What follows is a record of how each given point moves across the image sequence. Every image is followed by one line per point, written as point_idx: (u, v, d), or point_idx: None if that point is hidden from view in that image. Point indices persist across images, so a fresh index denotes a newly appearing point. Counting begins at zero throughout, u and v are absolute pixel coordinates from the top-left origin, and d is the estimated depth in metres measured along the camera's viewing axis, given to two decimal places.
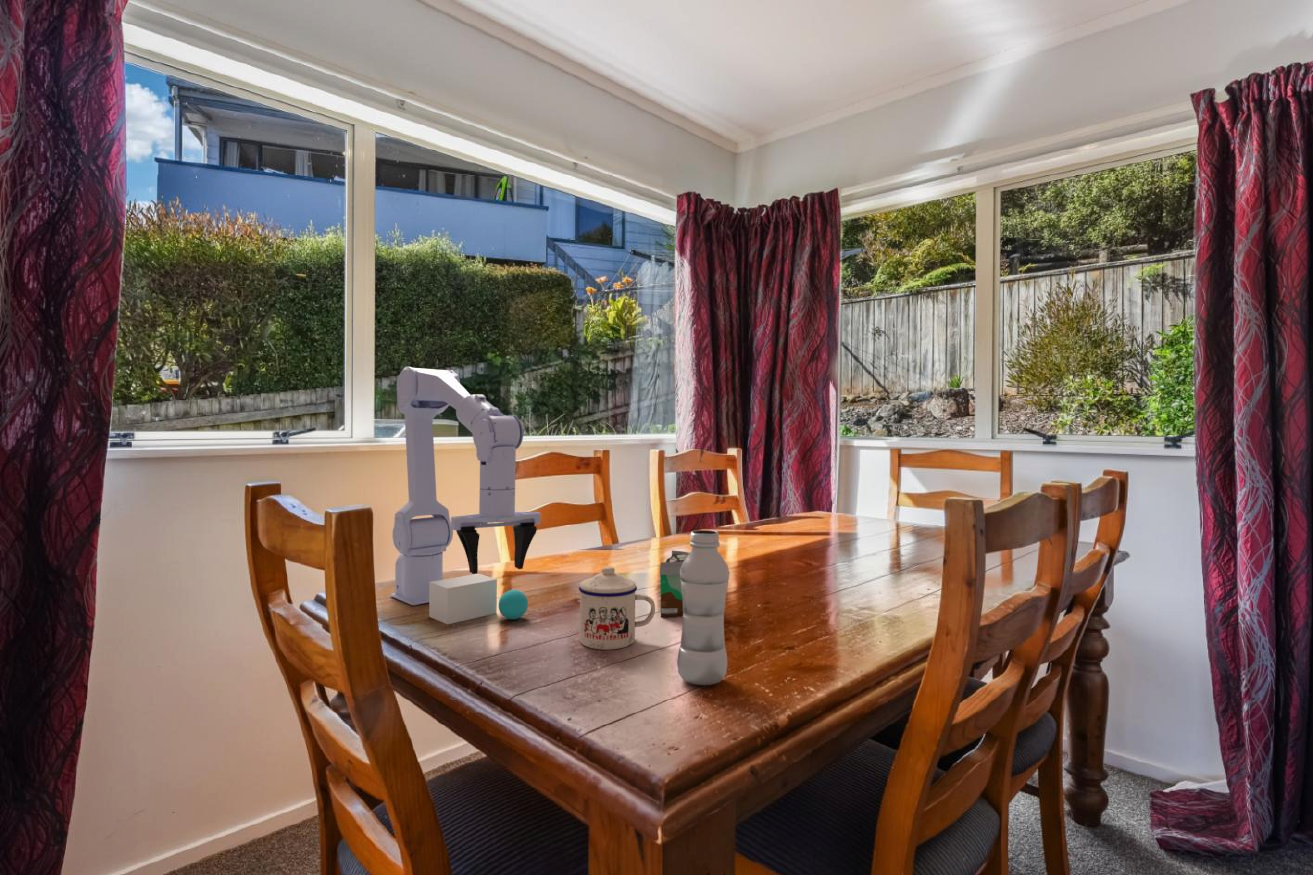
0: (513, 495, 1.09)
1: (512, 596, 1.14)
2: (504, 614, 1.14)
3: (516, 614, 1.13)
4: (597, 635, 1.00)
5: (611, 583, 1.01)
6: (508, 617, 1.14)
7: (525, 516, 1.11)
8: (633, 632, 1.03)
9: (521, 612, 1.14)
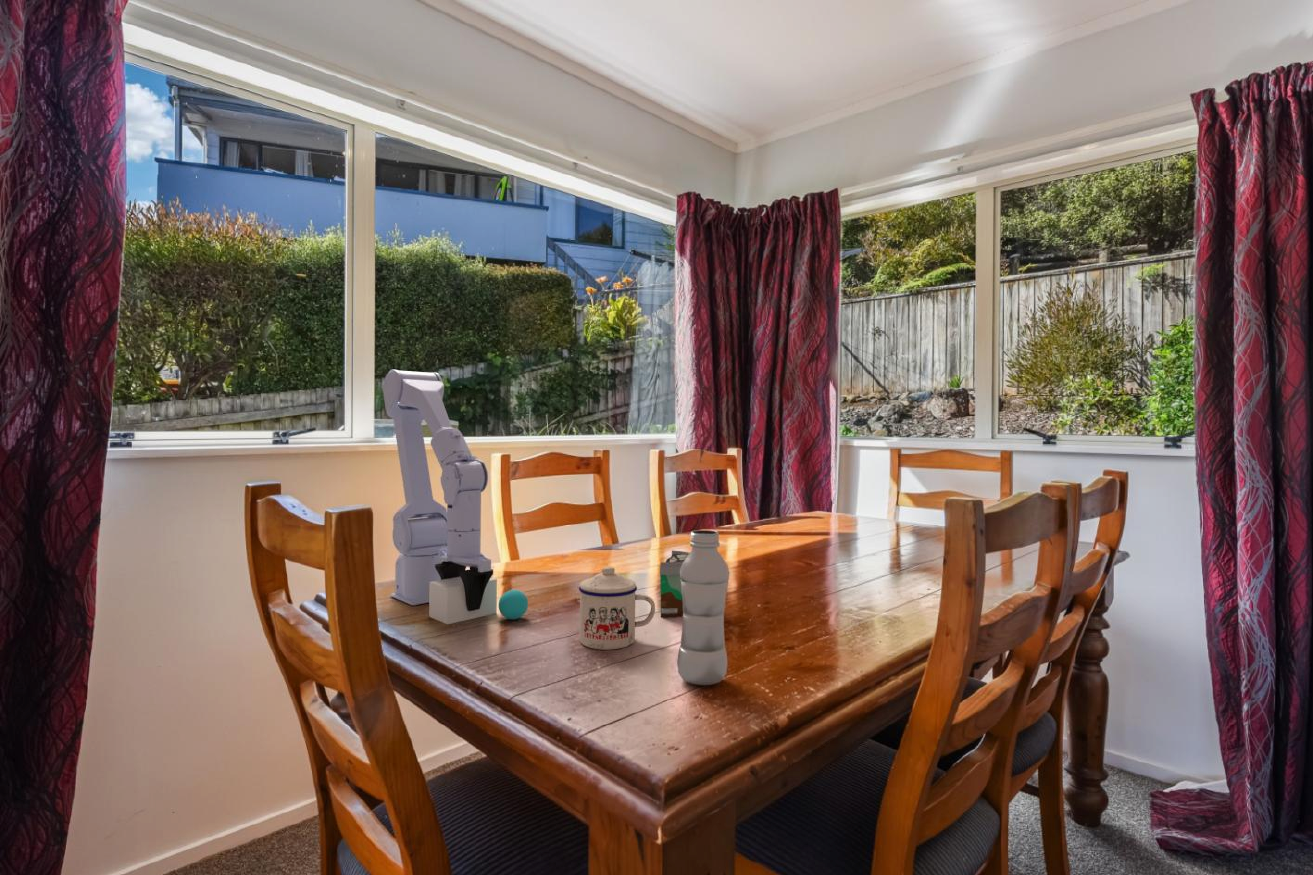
0: (460, 538, 1.14)
1: (512, 596, 1.14)
2: (504, 614, 1.14)
3: (516, 614, 1.13)
4: (597, 635, 1.00)
5: (611, 583, 1.01)
6: (508, 617, 1.14)
7: (467, 560, 1.13)
8: (633, 632, 1.03)
9: (521, 612, 1.14)
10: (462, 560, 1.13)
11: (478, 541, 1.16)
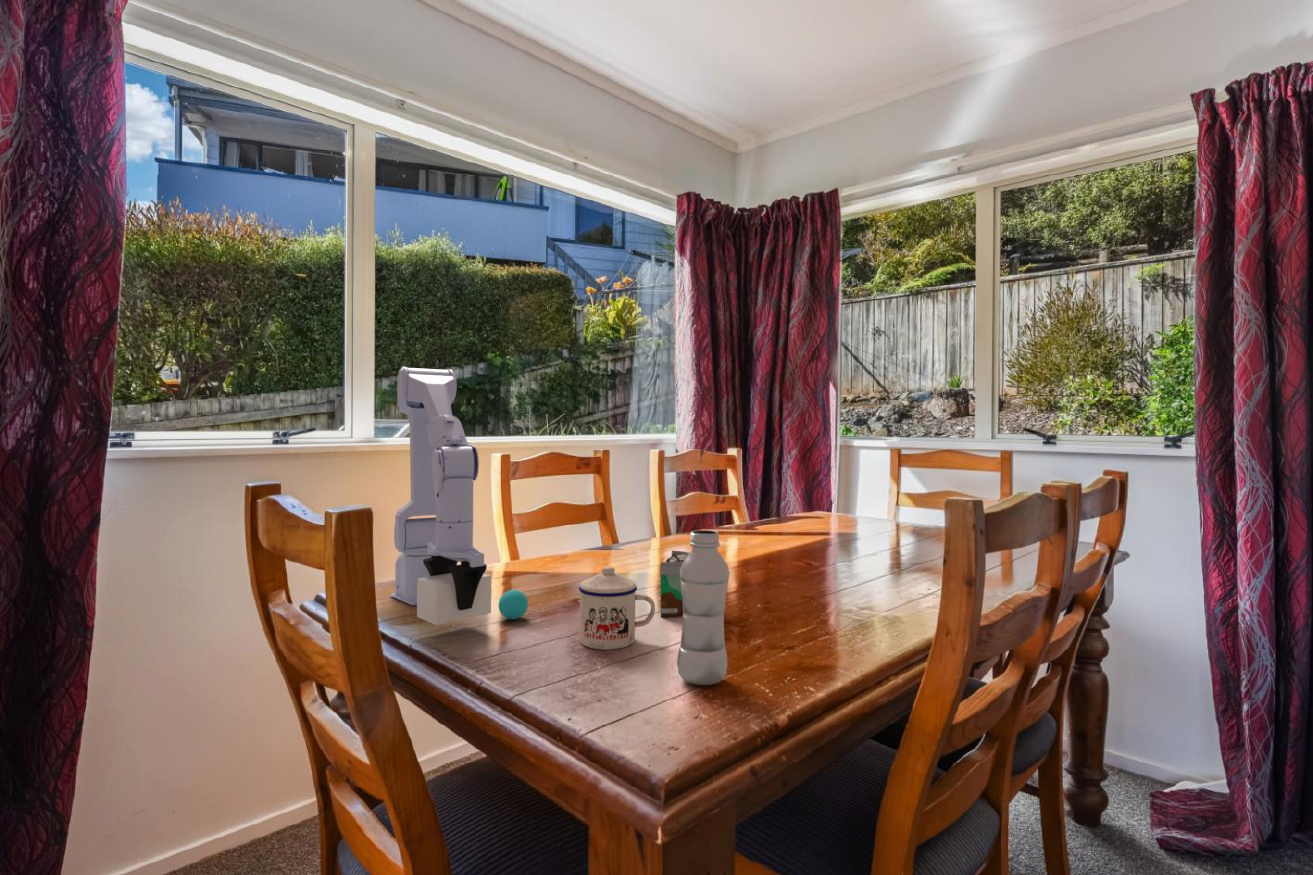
0: (450, 529, 1.04)
1: (512, 596, 1.14)
2: (504, 614, 1.14)
3: (516, 614, 1.13)
4: (597, 635, 1.00)
5: (611, 583, 1.01)
6: (508, 617, 1.14)
7: (458, 554, 1.03)
8: (633, 632, 1.03)
9: (521, 612, 1.14)
10: (452, 554, 1.03)
11: (470, 533, 1.06)
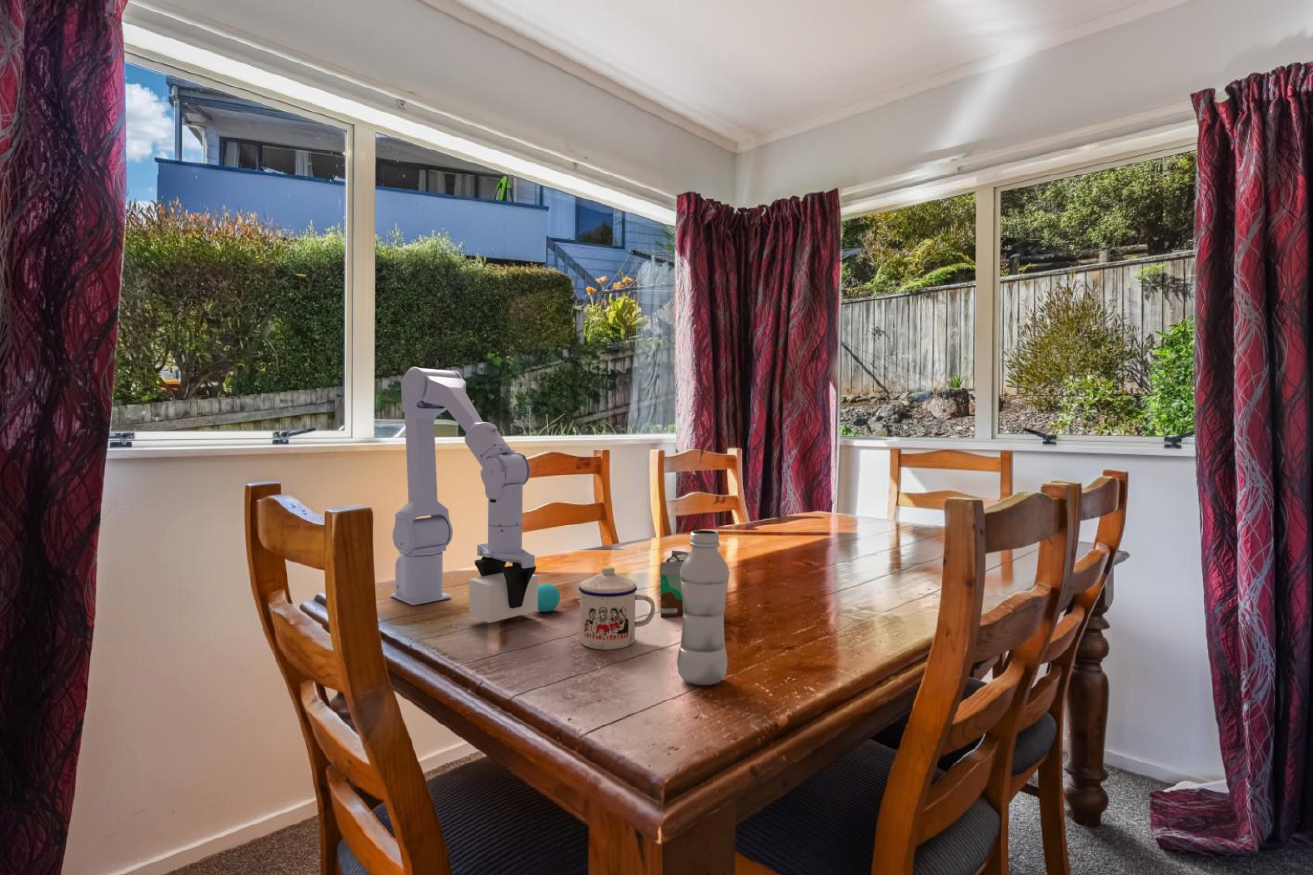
0: (502, 533, 1.11)
1: None
2: (554, 586, 1.21)
3: (554, 592, 1.19)
4: (597, 635, 1.00)
5: (611, 583, 1.01)
6: (552, 585, 1.20)
7: (510, 556, 1.10)
8: (633, 632, 1.03)
9: (551, 596, 1.18)
10: (505, 556, 1.10)
11: (520, 536, 1.13)
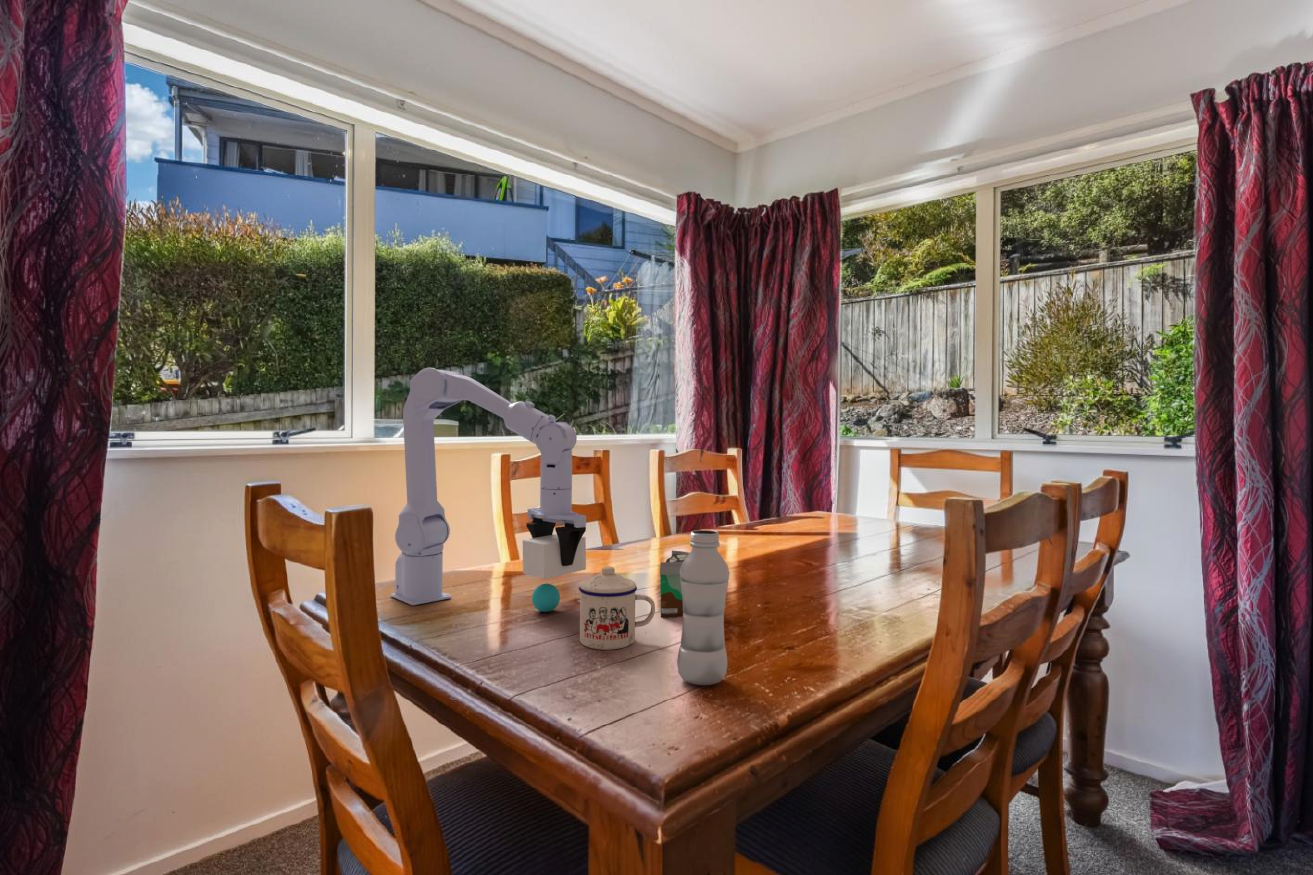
0: (555, 495, 1.19)
1: None
2: (554, 586, 1.21)
3: (554, 592, 1.19)
4: (597, 635, 1.00)
5: (611, 583, 1.01)
6: (552, 585, 1.20)
7: (563, 517, 1.17)
8: (633, 632, 1.03)
9: (551, 596, 1.18)
10: (558, 517, 1.18)
11: (570, 499, 1.21)
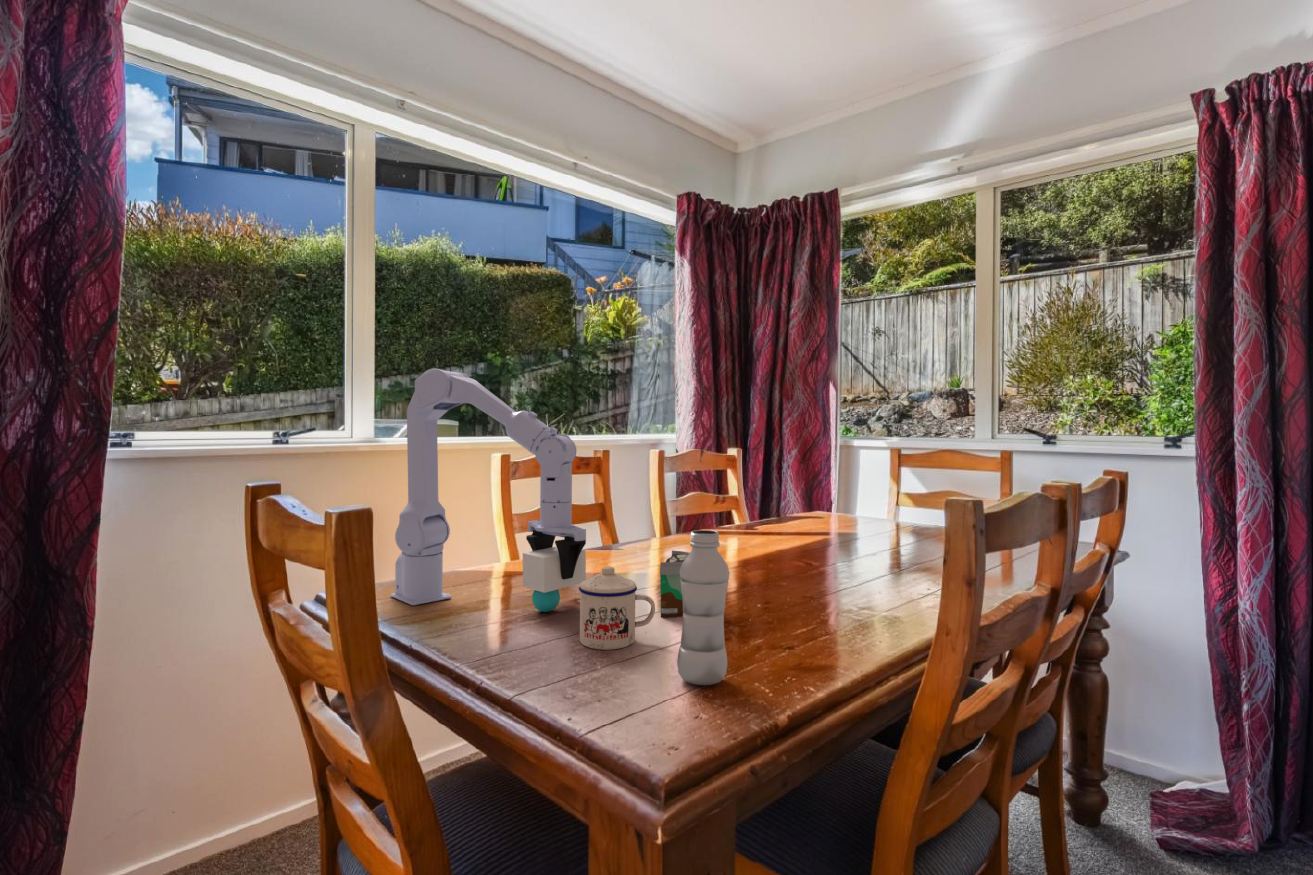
0: (554, 509, 1.19)
1: None
2: None
3: (554, 592, 1.19)
4: (597, 635, 1.00)
5: (611, 583, 1.01)
6: None
7: (563, 530, 1.17)
8: (633, 632, 1.03)
9: (551, 596, 1.18)
10: (557, 530, 1.18)
11: (570, 512, 1.21)
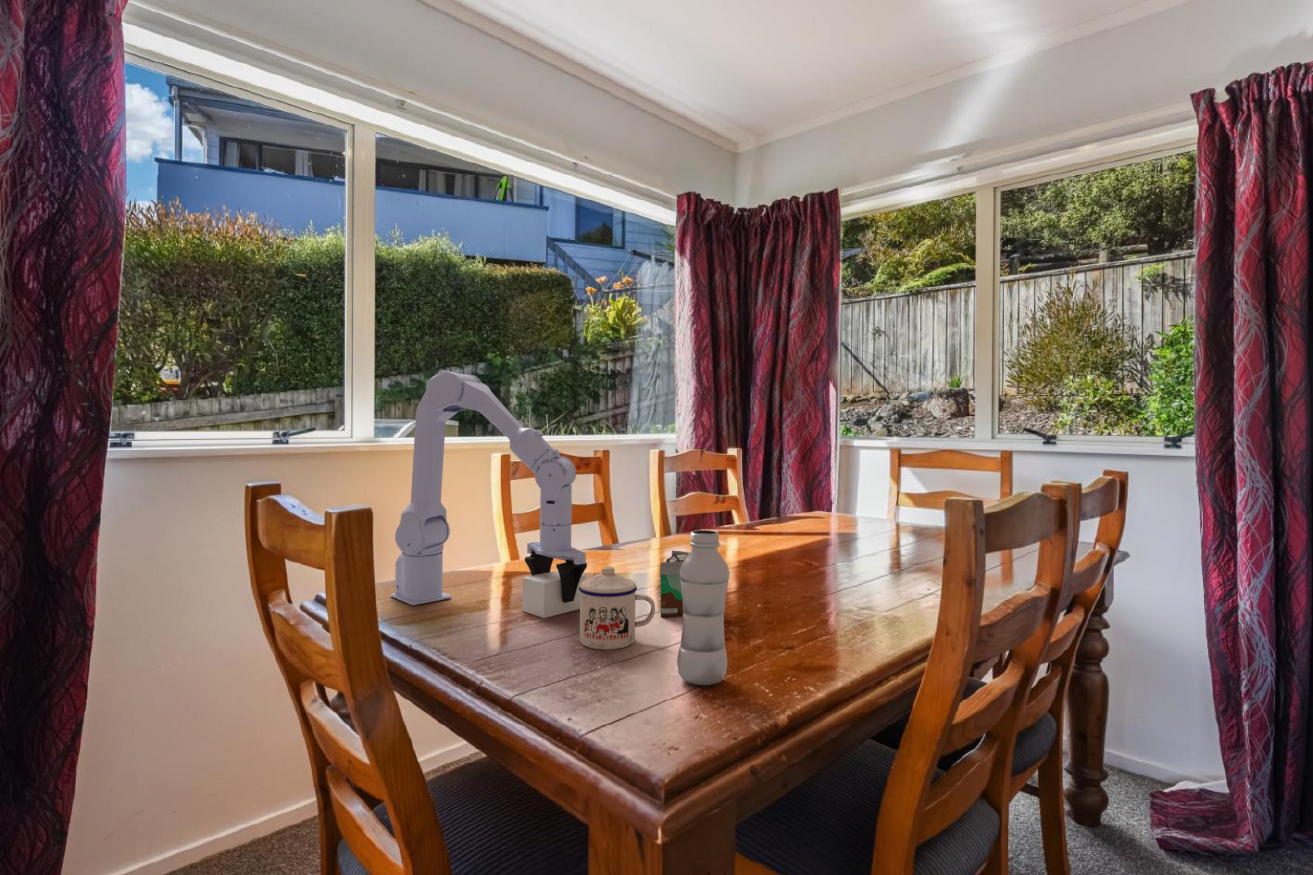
0: (554, 532, 1.19)
1: None
2: None
3: None
4: (597, 635, 1.00)
5: (611, 583, 1.01)
6: None
7: (563, 553, 1.18)
8: (633, 632, 1.03)
9: None
10: (557, 553, 1.18)
11: (570, 535, 1.21)
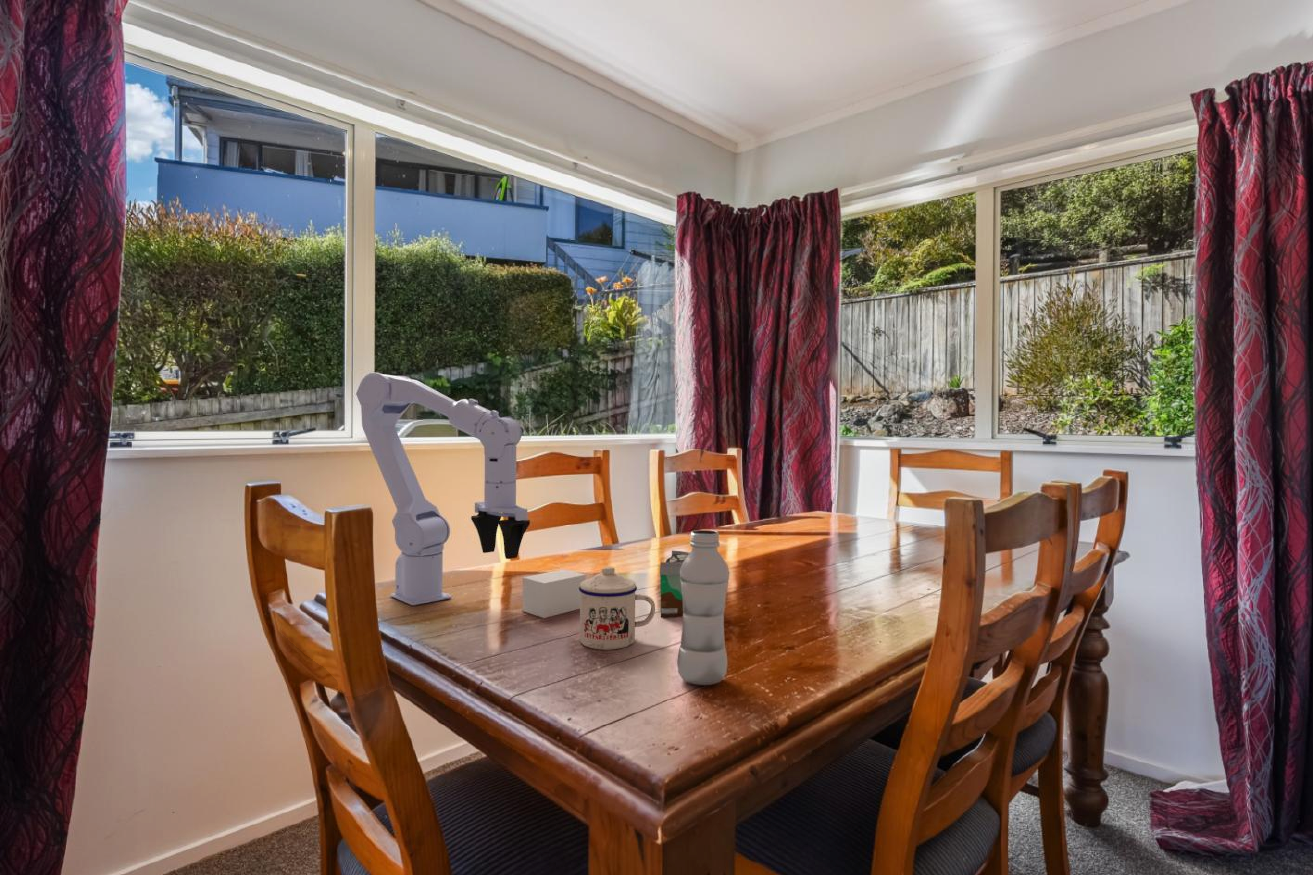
0: (497, 489, 1.21)
1: None
2: None
3: None
4: (597, 635, 1.00)
5: (611, 583, 1.01)
6: None
7: (505, 510, 1.19)
8: (633, 632, 1.03)
9: None
10: (500, 510, 1.20)
11: (514, 493, 1.23)
